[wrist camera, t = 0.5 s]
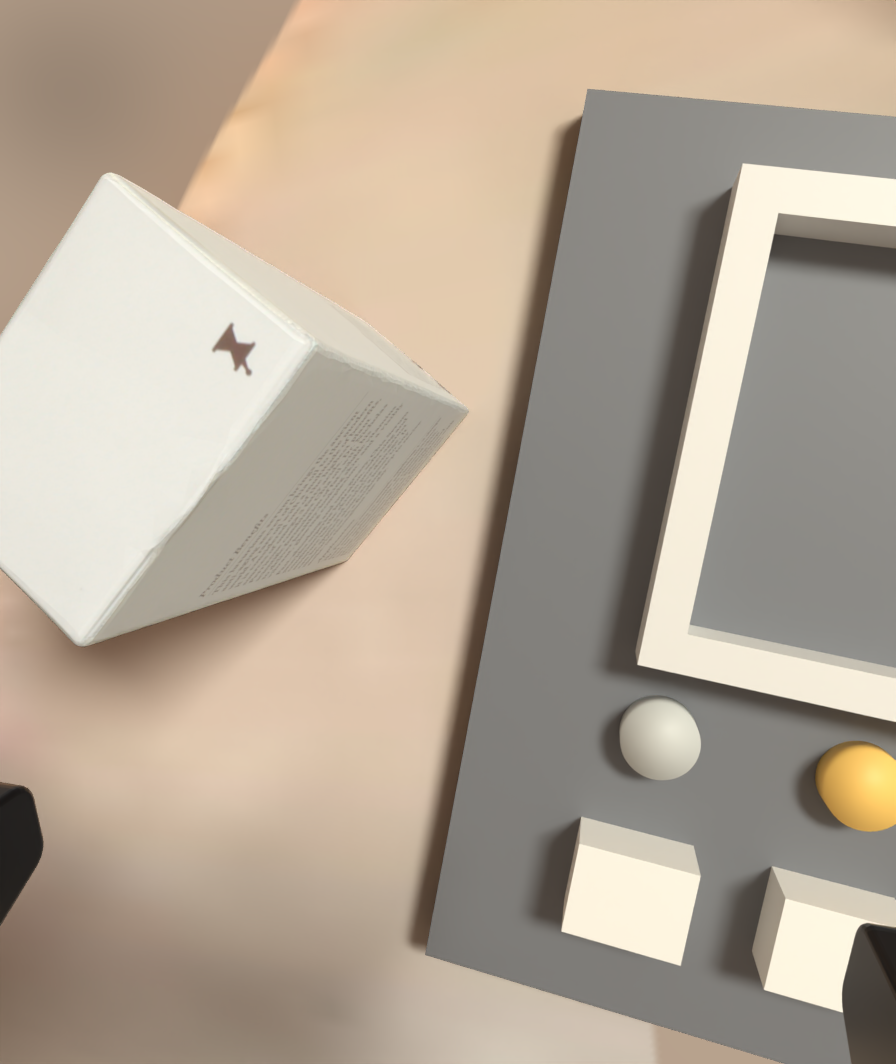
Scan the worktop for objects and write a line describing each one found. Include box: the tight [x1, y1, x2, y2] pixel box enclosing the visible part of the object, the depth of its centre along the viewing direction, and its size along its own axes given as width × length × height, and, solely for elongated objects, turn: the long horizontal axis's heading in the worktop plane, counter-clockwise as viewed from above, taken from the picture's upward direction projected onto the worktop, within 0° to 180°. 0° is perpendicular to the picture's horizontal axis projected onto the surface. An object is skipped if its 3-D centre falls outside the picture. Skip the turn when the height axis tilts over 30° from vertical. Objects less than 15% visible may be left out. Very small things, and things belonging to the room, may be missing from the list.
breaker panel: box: [425, 89, 896, 1064], centre depth 19 cm, size 24×18×3 cm
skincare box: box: [0, 173, 469, 647], centre depth 17 cm, size 6×4×12 cm
